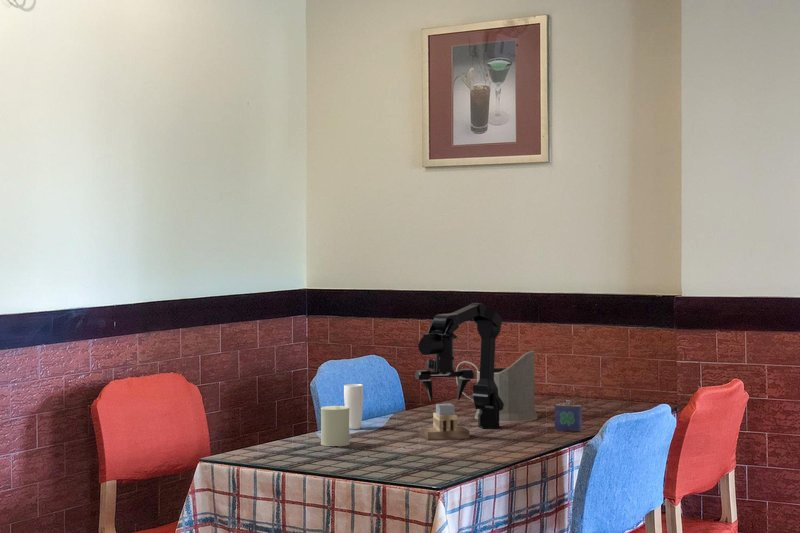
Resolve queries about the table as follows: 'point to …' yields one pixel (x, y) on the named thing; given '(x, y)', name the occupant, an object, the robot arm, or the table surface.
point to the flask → (568, 417)
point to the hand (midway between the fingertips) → (444, 400)
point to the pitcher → (514, 389)
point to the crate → (445, 409)
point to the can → (335, 426)
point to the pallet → (445, 422)
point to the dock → (445, 433)
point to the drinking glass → (354, 404)
